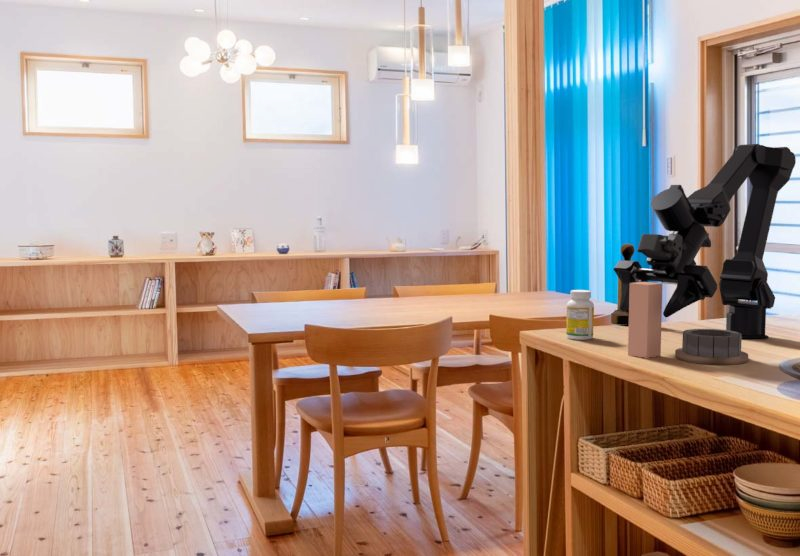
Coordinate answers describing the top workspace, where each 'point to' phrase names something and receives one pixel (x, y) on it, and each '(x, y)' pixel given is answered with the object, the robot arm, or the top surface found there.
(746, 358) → the socket
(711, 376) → the top surface
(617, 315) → the dark wooden chess piece
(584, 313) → the supplement bottle
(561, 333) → the top surface
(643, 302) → the terracotta peg
